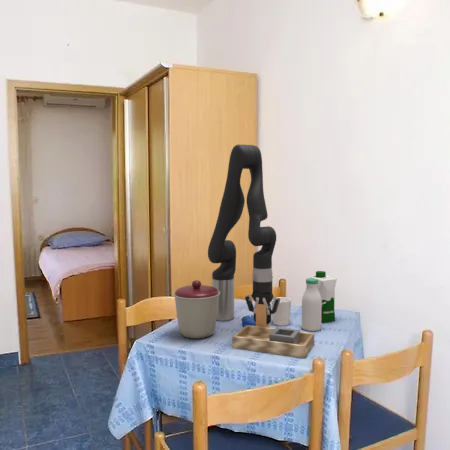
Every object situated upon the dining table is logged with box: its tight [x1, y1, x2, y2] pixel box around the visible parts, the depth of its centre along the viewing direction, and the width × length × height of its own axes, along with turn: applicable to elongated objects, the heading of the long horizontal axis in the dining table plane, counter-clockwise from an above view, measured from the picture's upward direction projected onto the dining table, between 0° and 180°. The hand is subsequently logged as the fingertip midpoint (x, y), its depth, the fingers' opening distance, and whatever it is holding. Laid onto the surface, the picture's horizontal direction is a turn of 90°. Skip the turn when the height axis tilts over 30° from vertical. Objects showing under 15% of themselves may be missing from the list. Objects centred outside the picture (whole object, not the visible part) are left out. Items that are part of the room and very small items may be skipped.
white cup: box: [271, 296, 292, 327], centre depth 195 cm, size 8×8×10 cm
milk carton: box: [310, 270, 338, 324], centre depth 199 cm, size 9×9×20 cm
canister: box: [172, 279, 220, 339], centre depth 182 cm, size 18×18×21 cm
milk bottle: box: [301, 277, 322, 332], centre depth 188 cm, size 8×8×20 cm
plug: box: [255, 304, 270, 328], centre depth 183 cm, size 4×4×12 cm
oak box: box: [232, 324, 315, 359], centre depth 170 cm, size 26×14×4 cm, turn 67°
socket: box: [269, 326, 301, 345], centre depth 168 cm, size 9×9×5 cm
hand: (262, 322), depth 183 cm, fingers closed on plug, 4 cm apart
